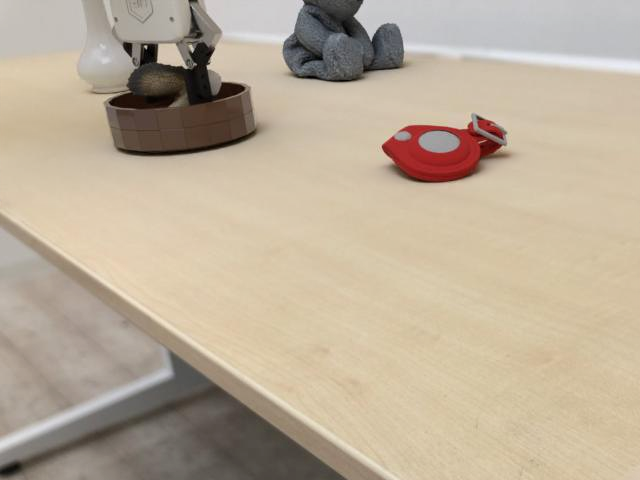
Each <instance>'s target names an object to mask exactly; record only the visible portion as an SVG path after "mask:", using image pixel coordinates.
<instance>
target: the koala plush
mask: <svg viewBox="0 0 640 480" xmlns="http://www.w3.org/2000/svg"><path fill="white" fill-rule="evenodd" d="M302 2H303V5H302V7H300V9H299V11H298V12H297V13H298V14H297V19H296V22H295V25H294V28H293V30H294V31H293V33H291V34H290V35H289V36H288V37H286V38H285V40H284V41H283V45H282V49H281V50H282V52H281V53H282V57H283V60H284V62H285V65H286V66H287V68H288V69H289V70H290V72H292V73H293V74H294V75H297V76H299V77H309V76H312V77H316V78H319V79H322V80H326V81H347V80H348V81H352V80H355V79H356V80H357V79H358V78H359V77H361V76H363V71H366V70H367V71H369V70H382V69H395V68H397V67H398V68H399V67H401V66H402V65H403V64H404V59H405V46H404V40H403V36H402V33H401V29H400V27H399V26H398V25H397V23H396V22H395V23H394V22H392V23H390V22H387V23H384V24H381V25H379V27H378V28H377V29H376V30H375V32H374V33H373V35H372V38H370V35H369V33H368V32H367V30H366V29H365V27H364V26H363V24H362V23H361V22H360V21H359V20H358V19H357V18H356V17H355V15H356V14H357V13H358V12H359V11H360V9H361V7H362V5H363V4H364V0H302Z"/></svg>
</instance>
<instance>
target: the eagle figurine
mask: <svg viewBox="0 0 640 480" xmlns="http://www.w3.org/2000/svg"><path fill="white" fill-rule="evenodd" d="M159 63H160V62H158V61H157V62H150V63H149V64H148V63H146V65H142V66H140V67H138V68H137V69H134V70H133V71H134V72H132V73H131V74H130V77H129V78H128V81H129V82H128V83H127V85H126V87H128V88H129V90H128V92H129V91H131V92H133V95H136V96H156V97H161V96H173V97H174V98H175V100H174V102H173V103H172V104H171V105H170V106H169V107H180V106H187V105H190V104H189V100H188V95H187V90H186V85H185V80H184V75H183V69H186V68H185V67H184V66H183V65H172V64H164V63H162V64H159ZM207 70H208V75H209V81H210V86H211V92H212V95H217V94H218V92H219V90H220V87H221V85H222V82H221V81H222V77H221V76H220V74H219V73H218V72H217V71H214V70H212V69H208V68H207ZM169 107H167V108H169Z"/></svg>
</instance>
